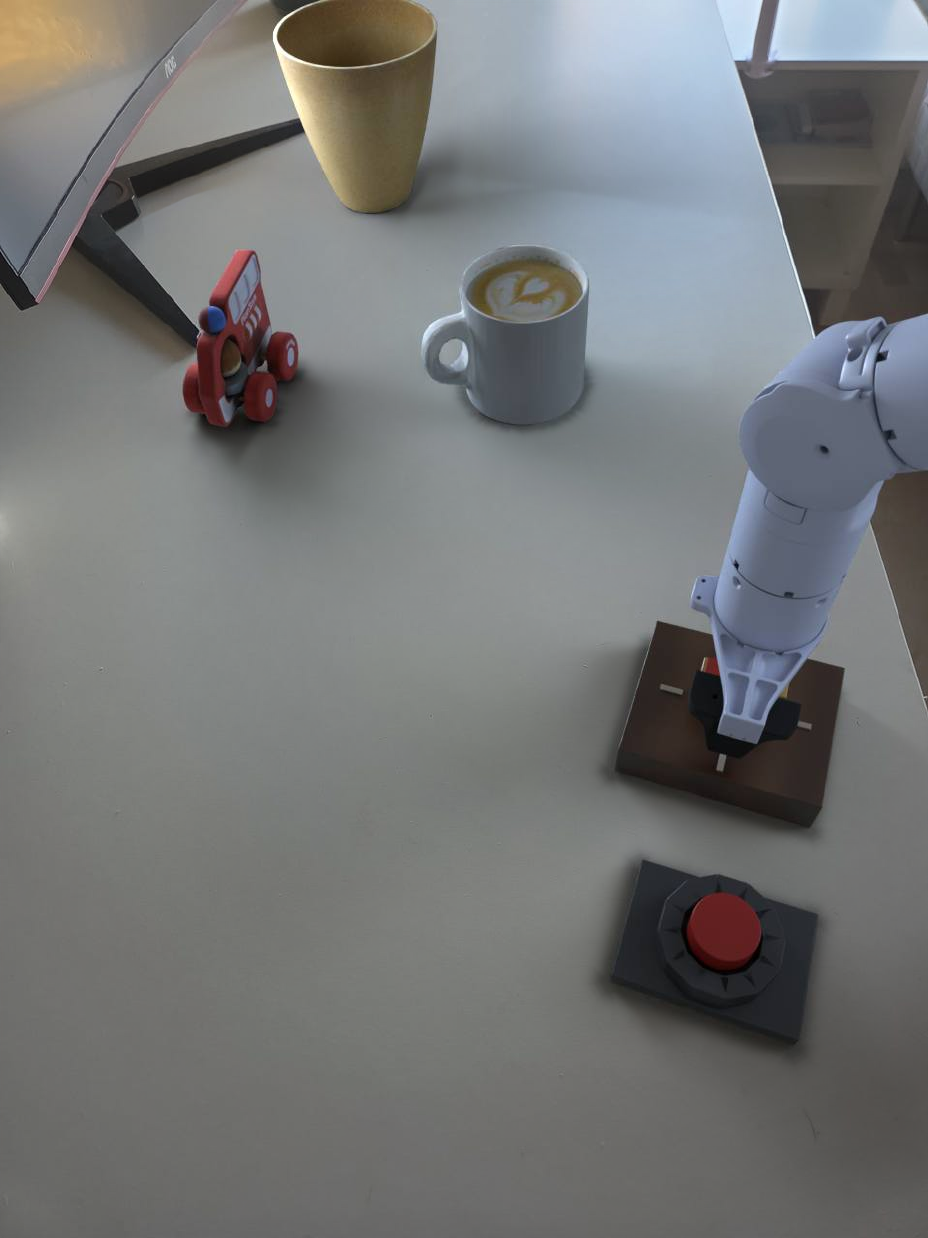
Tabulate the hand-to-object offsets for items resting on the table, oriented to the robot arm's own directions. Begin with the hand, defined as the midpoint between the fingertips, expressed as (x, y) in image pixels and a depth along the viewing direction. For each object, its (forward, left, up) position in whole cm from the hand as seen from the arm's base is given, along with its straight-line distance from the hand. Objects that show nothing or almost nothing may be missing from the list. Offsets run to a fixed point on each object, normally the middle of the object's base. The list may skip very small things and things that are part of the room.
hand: (737, 695), depth 58 cm
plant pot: (+46, -51, -4) cm, 69 cm away
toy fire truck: (+45, -20, -4) cm, 49 cm away
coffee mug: (+24, -27, -4) cm, 36 cm away
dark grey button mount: (-2, +14, -4) cm, 15 cm away
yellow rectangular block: (0, 0, -1) cm, 1 cm away
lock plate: (0, 0, -4) cm, 4 cm away
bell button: (-2, +14, -2) cm, 14 cm away
